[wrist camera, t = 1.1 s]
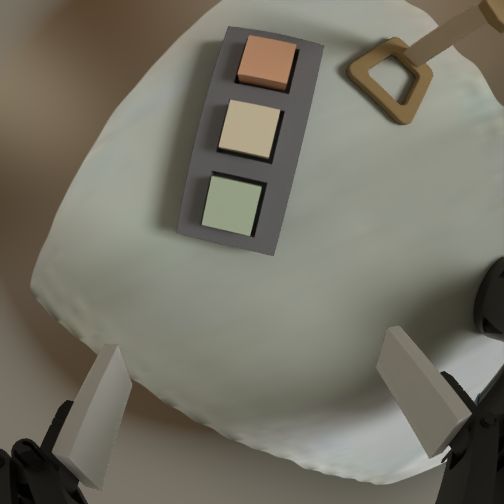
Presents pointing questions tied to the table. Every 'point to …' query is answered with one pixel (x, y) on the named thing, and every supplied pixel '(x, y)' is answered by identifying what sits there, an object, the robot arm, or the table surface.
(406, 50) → the headphone stand
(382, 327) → the table surface
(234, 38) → the keypad
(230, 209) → the sage key
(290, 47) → the terracotta key
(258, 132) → the sand key
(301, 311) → the table surface
